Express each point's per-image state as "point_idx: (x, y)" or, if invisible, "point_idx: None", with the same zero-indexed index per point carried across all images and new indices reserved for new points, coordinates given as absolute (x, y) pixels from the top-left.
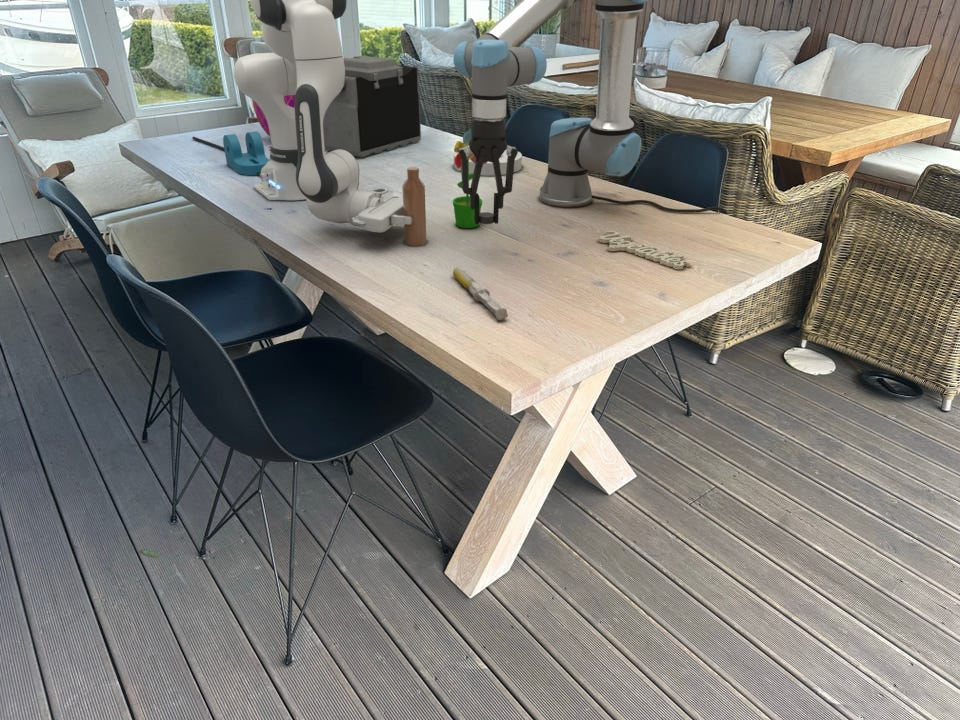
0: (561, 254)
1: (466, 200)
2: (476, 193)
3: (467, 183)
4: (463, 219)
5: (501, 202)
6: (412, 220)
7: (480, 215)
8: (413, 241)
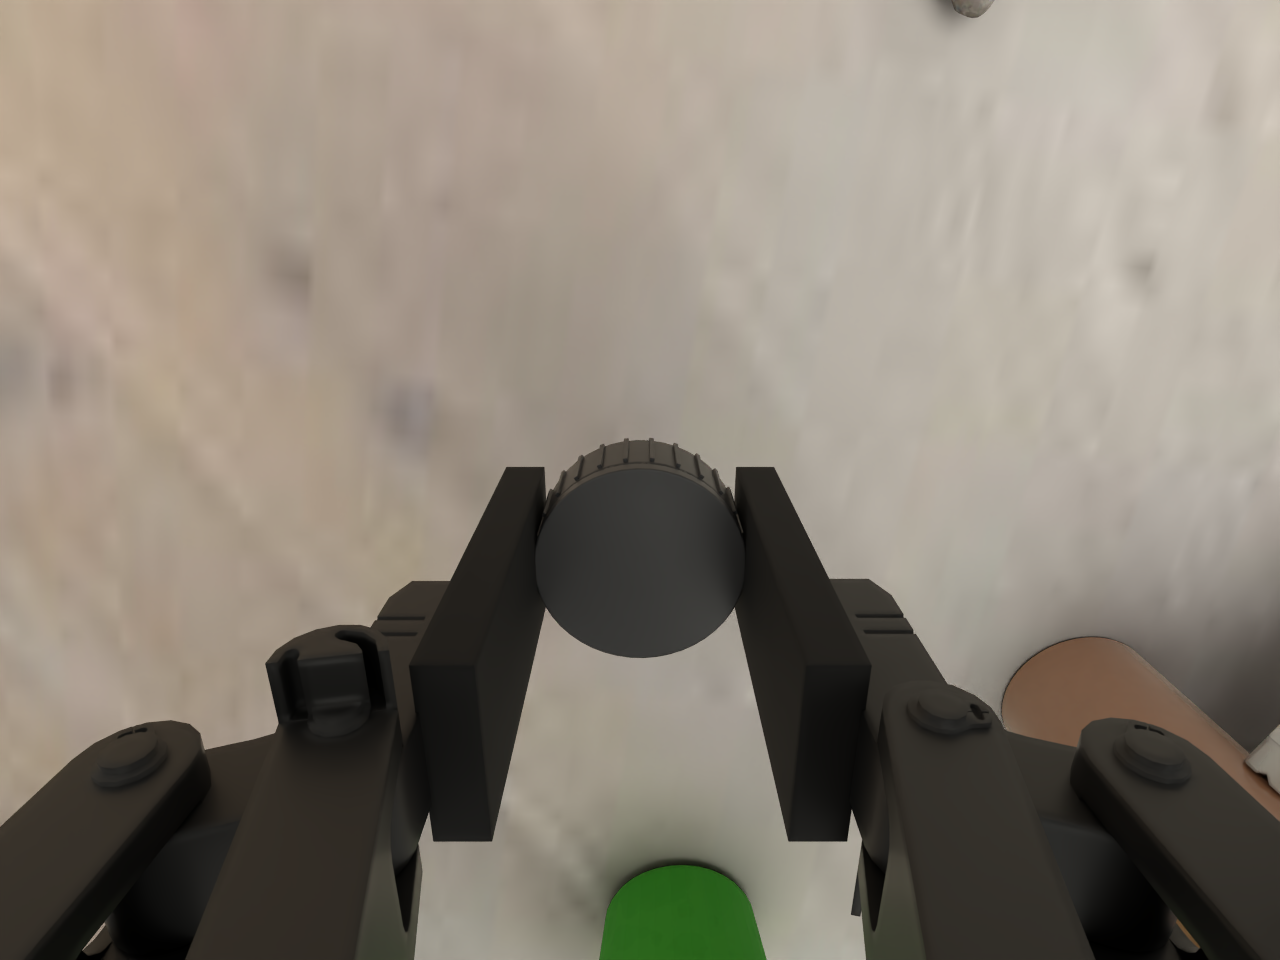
0: (35, 376)
1: None
2: (814, 835)
3: (1261, 923)
4: (722, 921)
5: (398, 632)
6: (1273, 762)
7: (720, 548)
8: (1130, 658)
